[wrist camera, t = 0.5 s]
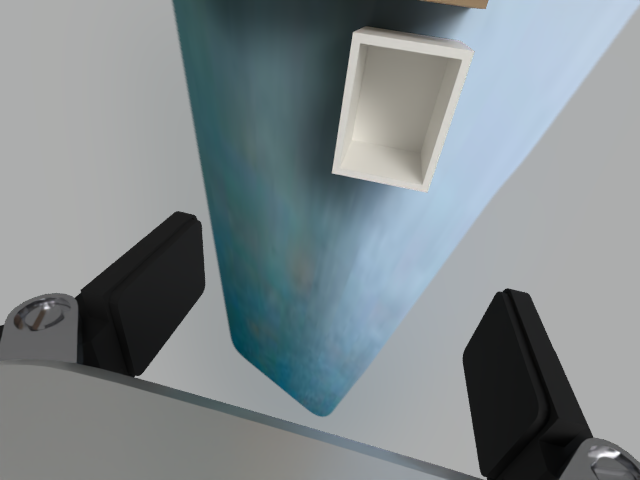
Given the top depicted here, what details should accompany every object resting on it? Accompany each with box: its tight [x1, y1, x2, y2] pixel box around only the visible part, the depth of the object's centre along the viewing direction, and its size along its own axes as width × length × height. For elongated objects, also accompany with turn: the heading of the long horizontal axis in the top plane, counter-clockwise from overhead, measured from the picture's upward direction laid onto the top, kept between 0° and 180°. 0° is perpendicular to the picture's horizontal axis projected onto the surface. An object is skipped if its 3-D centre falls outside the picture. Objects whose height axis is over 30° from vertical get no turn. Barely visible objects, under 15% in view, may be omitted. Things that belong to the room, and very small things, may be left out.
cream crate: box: [332, 26, 475, 193], centre depth 26 cm, size 9×7×7 cm
